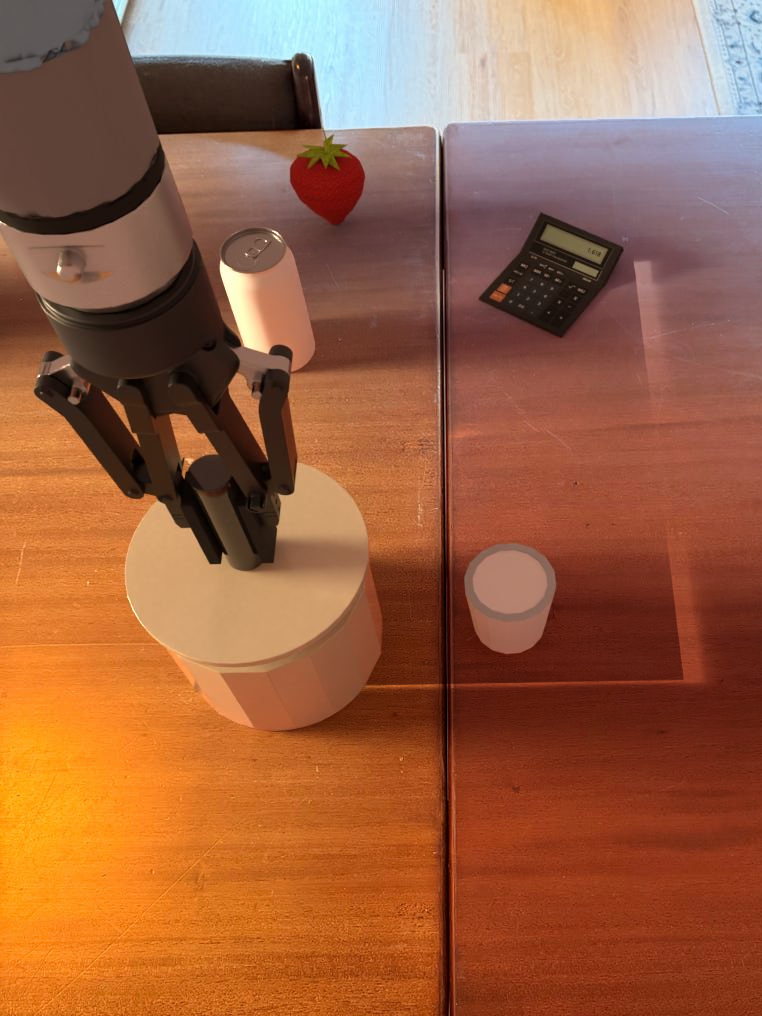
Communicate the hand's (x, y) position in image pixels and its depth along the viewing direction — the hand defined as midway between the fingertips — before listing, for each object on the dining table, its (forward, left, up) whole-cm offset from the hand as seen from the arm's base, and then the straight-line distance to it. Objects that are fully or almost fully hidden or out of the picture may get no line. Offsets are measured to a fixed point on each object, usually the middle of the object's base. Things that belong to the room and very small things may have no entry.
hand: (243, 546), depth 63 cm
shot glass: (+18, +1, -14) cm, 23 cm away
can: (-3, +31, -14) cm, 34 cm away
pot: (0, 0, -14) cm, 14 cm away
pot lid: (0, 0, -2) cm, 2 cm away
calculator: (+23, +39, -14) cm, 47 cm away
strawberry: (+1, +49, -14) cm, 51 cm away
